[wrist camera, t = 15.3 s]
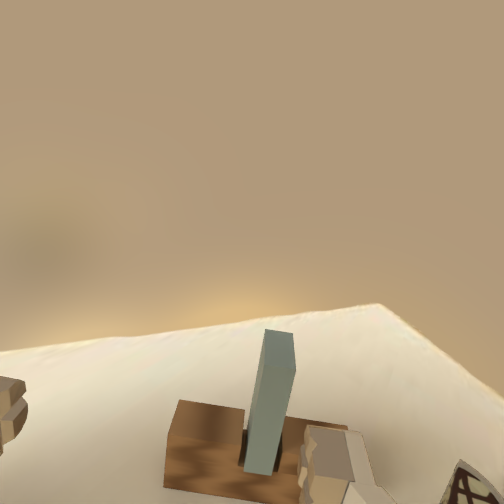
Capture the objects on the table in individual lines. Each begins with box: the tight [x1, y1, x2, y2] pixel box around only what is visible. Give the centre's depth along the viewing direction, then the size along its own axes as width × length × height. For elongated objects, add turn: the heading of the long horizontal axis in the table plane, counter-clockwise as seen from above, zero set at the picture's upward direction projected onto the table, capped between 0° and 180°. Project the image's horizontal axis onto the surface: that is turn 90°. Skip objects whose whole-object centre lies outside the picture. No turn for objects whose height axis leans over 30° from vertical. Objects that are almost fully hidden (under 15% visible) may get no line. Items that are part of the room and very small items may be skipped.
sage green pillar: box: [244, 329, 296, 476], centre depth 39 cm, size 3×6×14 cm, turn 176°
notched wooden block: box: [163, 400, 348, 504], centre depth 42 cm, size 20×5×8 cm, turn 86°
